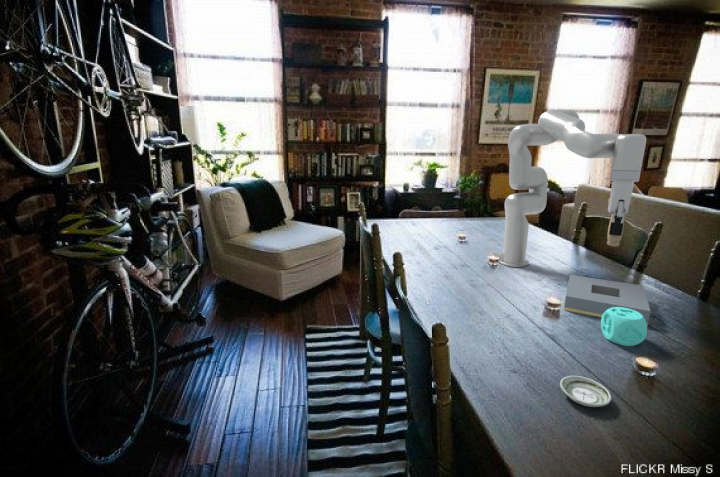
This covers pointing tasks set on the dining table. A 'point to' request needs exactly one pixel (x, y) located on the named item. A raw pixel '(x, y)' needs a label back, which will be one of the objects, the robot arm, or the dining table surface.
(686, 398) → the dining table surface
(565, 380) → the saucer
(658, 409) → the dining table surface
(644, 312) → the socket block
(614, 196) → the robot arm
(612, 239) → the handle
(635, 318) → the decorative dice
